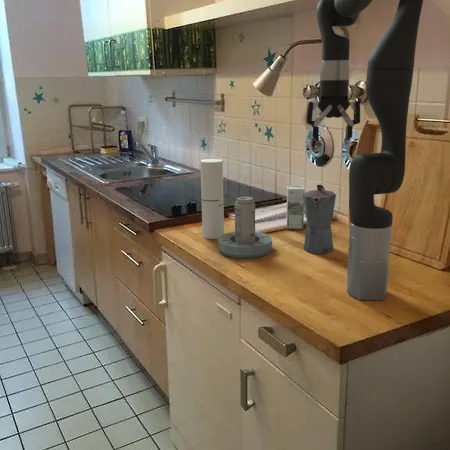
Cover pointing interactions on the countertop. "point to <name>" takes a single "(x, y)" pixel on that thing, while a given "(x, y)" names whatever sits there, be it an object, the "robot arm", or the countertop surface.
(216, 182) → the cylindrical container
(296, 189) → the syrup box
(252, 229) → the energy drink can
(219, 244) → the blue-grey ring
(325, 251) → the moka pot
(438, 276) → the countertop surface
